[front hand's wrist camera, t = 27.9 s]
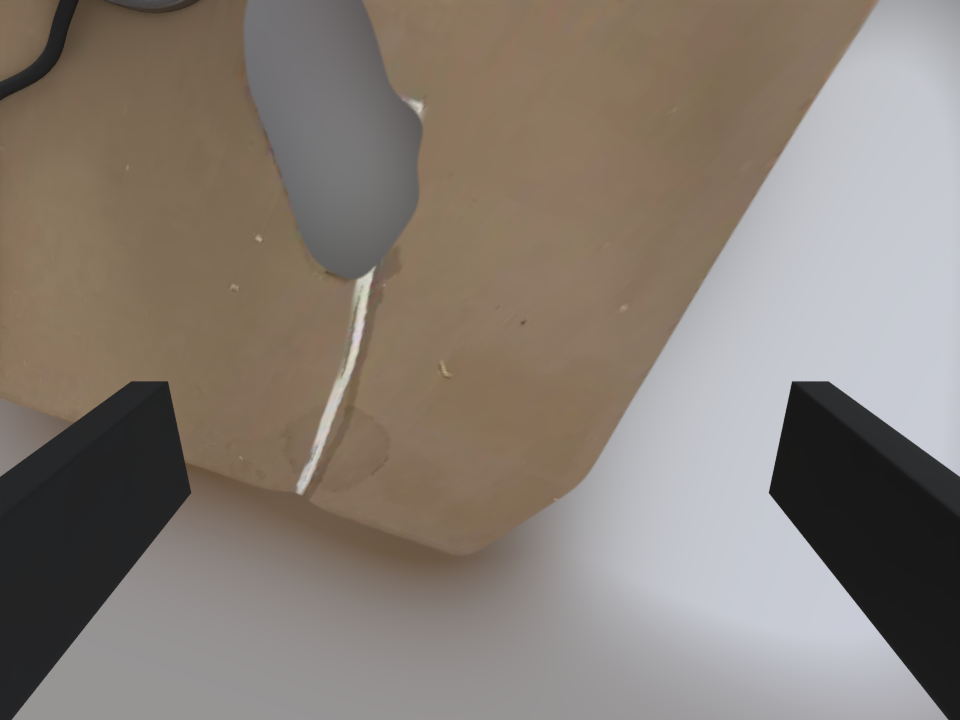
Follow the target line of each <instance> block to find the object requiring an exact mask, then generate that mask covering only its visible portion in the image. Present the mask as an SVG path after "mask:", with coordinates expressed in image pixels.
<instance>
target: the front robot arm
mask: <svg viewBox="0 0 960 720" xmlns="http://www.w3.org/2000/svg"><path fill="white" fill-rule="evenodd" d="M105 1H108V2H110V3H113V4H116V5H119V6H122V7H125V8H128V9H132V10H136V11H141V12H150V13H162V12H170V11H175V10H179V9H182V8H184V7H187V6H189V5H191V4H193V3H195V2H197V1H199V0H105ZM77 3H78V0H60V2H59V5H58V7H57V10H56V13H55V16H54V19H53V23H52V27H51V31H50V35H49V39H48V43H47V45H46V47H45V49H44V51H43V53H42V54H41V55H40V57H39V58H38V59H37V60H36V61H35V62H34V63H33V64H32V65H31V66H29V67H28V68H27V69H25V70H23V71H22V72H20V73H18V74H16V75H14V76H12V77H10V78H8V79H6V80H4V81H2V82H0V100H2V99H3V98H5V97H7V96H9V95H11V94H13V93H15V92H17V91H19V90H21V89H23V88H25V87H27V86H29V85H31V84H33V83H35V82H36V81H38V80H39V79H41V78H42V77H43V76H45V75H46V74H47V73H48V72H49V71H50V70H51V69H52V67H53V66H54V65H55V64H56V62H57V61H58V59H59V57H60V55H61V53H62V50H63V47H64V43H65V39H66V35H67V31H68V28H69V25H70V22H71V19H72V16H73V14H74V11H75V8H76V6H77ZM190 494H191V490H190V485H189V480H188V475H187V471H186V466H185V461H184V456H183V451H182V447H181V442H180V437H179V432H178V428H177V423H176V418H175V413H174V408H173V404H172V399H171V394H170V389H169V385H168V381H131V382H130V383H129V384H127V385H126V386H125V387H123V388H122V389H120V390H119V391H118V392H116V393H115V394H114V395H112V396H111V397H109V398H108V399H107V400H105V401H104V402H103V403H101V404H100V405H98V406H97V407H96V408H94V409H93V410H92V411H90V412H89V413H87V414H86V415H85V416H83V417H82V418H81V419H79V420H78V421H76V422H75V423H74V424H72V425H71V426H70V427H68V428H67V429H65V430H64V431H63V432H61V433H60V434H59V435H57V436H56V437H54V438H53V439H52V440H50V441H49V442H48V443H46V444H45V445H43V446H42V447H41V448H39V449H38V450H37V451H35V452H34V453H32V454H31V455H30V456H28V457H27V458H26V459H24V460H23V461H21V462H20V463H19V464H17V465H16V466H15V467H13V468H12V469H10V470H9V471H8V472H6V473H5V474H4V475H2V476H1V477H0V720H12V719H13V717H14V716H15V715H16V714H17V712H18V711H19V710H20V708H21V707H22V706H23V705H24V703H25V702H26V701H27V700H28V698H29V697H30V696H31V694H32V693H33V692H34V691H35V690H36V688H37V687H38V686H39V684H40V683H41V682H42V681H43V679H44V678H45V677H46V676H47V674H48V673H49V672H50V670H51V669H52V668H53V667H54V665H55V664H56V663H57V662H58V660H59V659H60V658H61V657H62V655H63V654H64V653H65V652H66V650H67V649H68V648H69V647H70V645H71V644H72V643H73V641H74V640H75V639H76V638H77V636H78V635H79V634H80V633H81V631H82V630H83V629H84V628H85V626H86V625H87V624H88V623H89V621H90V620H91V619H92V617H93V616H94V615H95V614H96V612H97V611H98V610H99V609H100V607H101V606H102V605H103V604H104V602H105V601H106V600H107V598H108V597H109V596H110V595H111V593H112V592H113V591H114V590H115V588H116V587H117V586H118V585H119V583H120V582H121V581H122V580H123V578H124V577H125V576H126V575H127V573H128V572H129V571H130V569H131V568H132V567H133V566H134V564H135V563H136V562H137V561H138V559H139V558H140V557H141V556H142V554H143V553H144V552H145V550H146V549H147V548H148V547H149V545H150V544H151V543H152V542H153V540H154V539H155V538H156V537H157V535H158V534H159V533H160V532H161V530H162V529H163V528H164V527H165V525H166V524H167V523H168V521H169V520H170V519H171V518H172V516H173V515H174V514H175V513H176V511H177V510H178V509H179V508H180V506H181V505H182V504H183V502H184V501H185V500H186V499H187V497H188V496H189V495H190ZM769 494H770V495H771V496H772V497H773V499H774V500H775V501H776V503H777V504H778V505H779V506H780V508H781V509H782V510H783V511H784V513H785V514H786V515H787V516H788V518H789V519H790V520H791V521H792V523H793V524H794V525H795V526H796V528H797V529H798V530H799V532H800V533H801V534H802V535H803V537H804V538H805V539H806V540H807V542H808V543H809V544H810V545H811V547H812V548H813V549H814V551H815V552H816V553H817V554H818V556H819V557H820V558H821V559H822V561H823V562H824V563H825V564H826V566H827V567H828V568H829V569H830V571H831V572H832V573H833V575H834V576H835V577H836V578H837V580H838V581H839V582H840V583H841V585H842V586H843V587H844V588H845V590H846V591H847V592H848V593H849V595H850V596H851V597H852V598H853V600H854V601H855V602H856V604H857V605H858V606H859V607H860V609H861V610H862V611H863V612H864V614H865V615H866V616H867V617H868V619H869V620H870V621H871V623H872V624H873V625H874V626H875V627H876V629H877V630H878V631H879V633H880V634H881V635H882V636H883V638H884V639H885V640H886V641H887V643H888V644H889V645H890V647H891V648H892V649H893V650H894V652H895V653H896V654H897V655H898V657H899V658H900V659H901V660H902V662H903V663H904V664H905V666H906V667H907V668H908V669H909V670H910V672H911V673H912V674H913V676H914V677H915V678H916V679H917V681H918V682H919V683H920V684H921V686H922V687H923V688H924V689H925V691H926V692H927V693H928V695H929V696H930V697H931V698H932V700H933V701H934V702H935V703H936V705H937V706H938V707H939V708H940V710H941V711H942V712H943V713H944V715H945V716H946V717H947V719H948V720H960V477H959V476H958V475H956V474H955V473H954V472H952V471H951V470H950V469H948V468H947V467H945V466H944V465H943V464H941V463H940V462H939V461H937V460H936V459H934V458H933V457H932V456H930V455H929V454H928V453H926V452H925V451H923V450H922V449H921V448H919V447H918V446H917V445H915V444H914V443H912V442H911V441H910V440H908V439H907V438H906V437H904V436H903V435H901V434H900V433H899V432H897V431H896V430H895V429H893V428H892V427H890V426H889V425H888V424H886V423H885V422H884V421H882V420H881V419H879V418H878V417H877V416H875V415H874V414H873V413H871V412H870V411H868V410H867V409H866V408H864V407H863V406H862V405H860V404H859V403H857V402H856V401H855V400H853V399H852V398H851V397H849V396H848V395H846V394H845V393H844V392H842V391H841V390H840V389H838V388H837V387H835V386H834V385H833V384H831V383H830V382H828V381H821V382H820V381H819V382H818V381H817V382H816V381H808V382H807V381H805V382H804V381H801V382H800V381H793V382H792V385H791V389H790V394H789V399H788V404H787V408H786V413H785V418H784V423H783V428H782V432H781V437H780V442H779V447H778V451H777V456H776V461H775V466H774V471H773V476H772V480H771V485H770V490H769Z"/></svg>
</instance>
